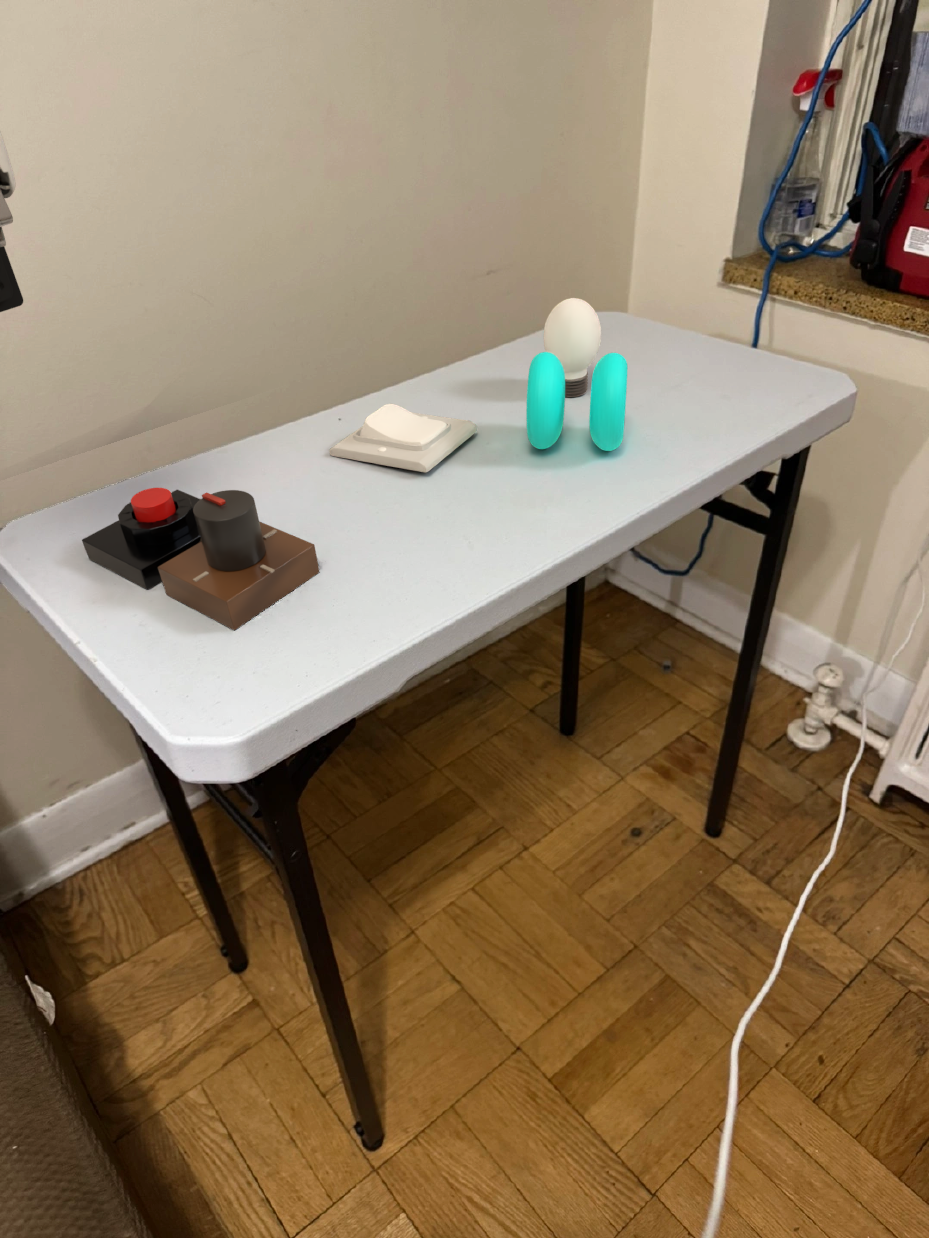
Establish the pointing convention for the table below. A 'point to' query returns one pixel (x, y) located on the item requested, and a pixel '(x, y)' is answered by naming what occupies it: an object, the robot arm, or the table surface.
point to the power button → (153, 505)
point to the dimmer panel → (240, 578)
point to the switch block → (144, 541)
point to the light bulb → (573, 341)
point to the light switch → (404, 439)
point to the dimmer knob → (229, 530)
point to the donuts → (550, 401)
